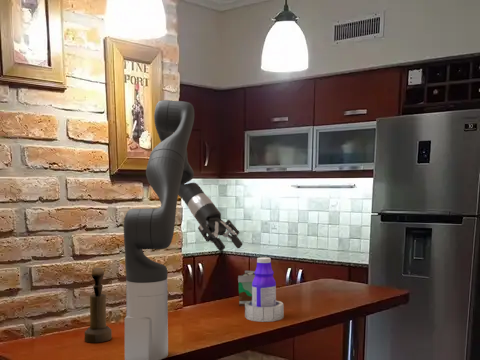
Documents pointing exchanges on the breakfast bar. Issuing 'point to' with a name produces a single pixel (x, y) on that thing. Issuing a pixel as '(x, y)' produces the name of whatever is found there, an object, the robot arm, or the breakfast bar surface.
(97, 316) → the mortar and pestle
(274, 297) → the bottle
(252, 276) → the food container
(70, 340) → the breakfast bar surface
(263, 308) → the ring holder
